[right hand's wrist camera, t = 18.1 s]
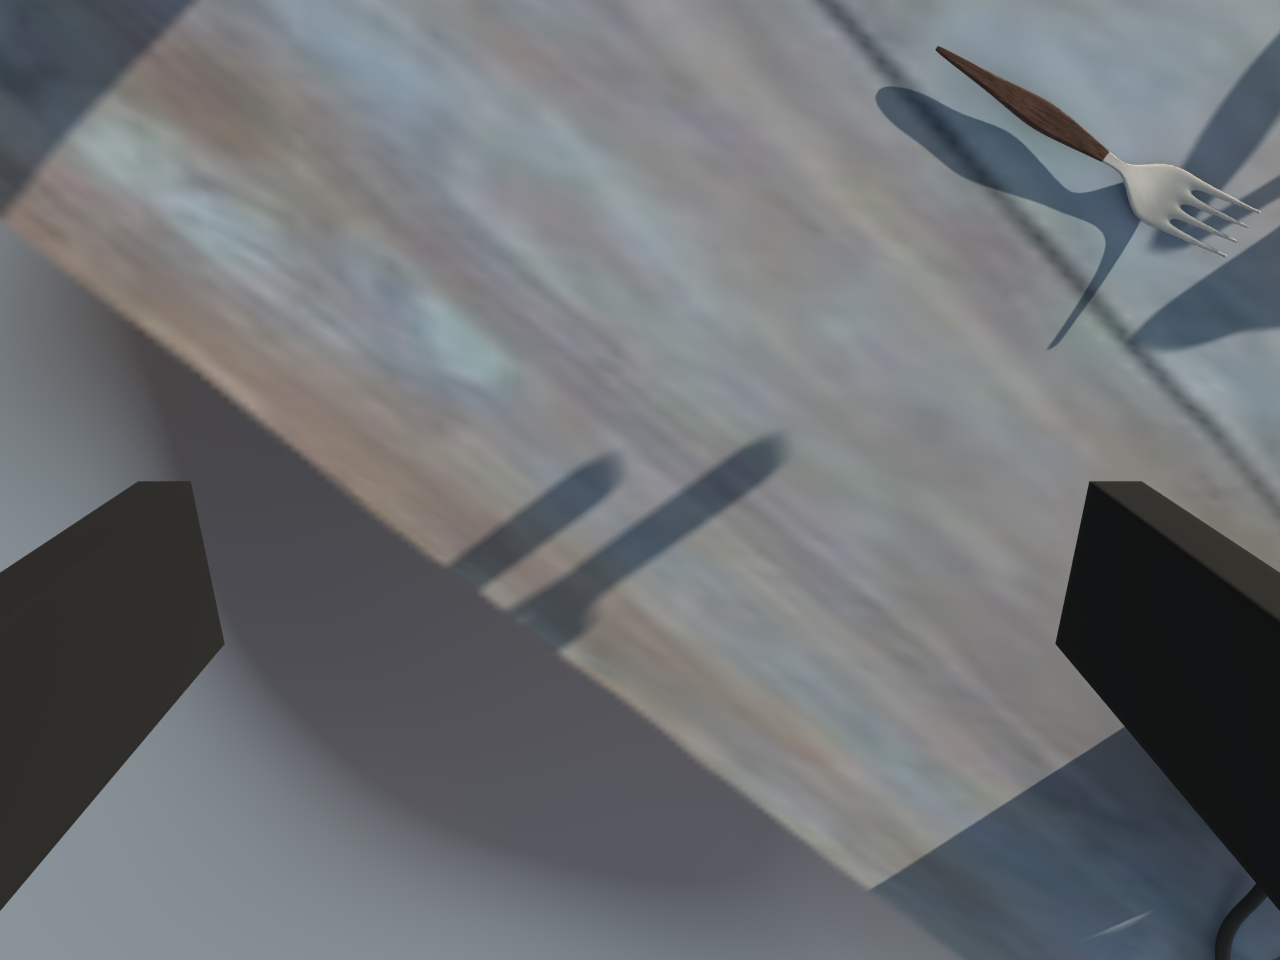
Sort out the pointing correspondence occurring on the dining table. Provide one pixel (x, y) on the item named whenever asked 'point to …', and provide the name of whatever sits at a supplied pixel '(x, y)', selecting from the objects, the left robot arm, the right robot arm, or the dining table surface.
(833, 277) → the dining table surface
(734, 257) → the dining table surface
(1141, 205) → the fork
